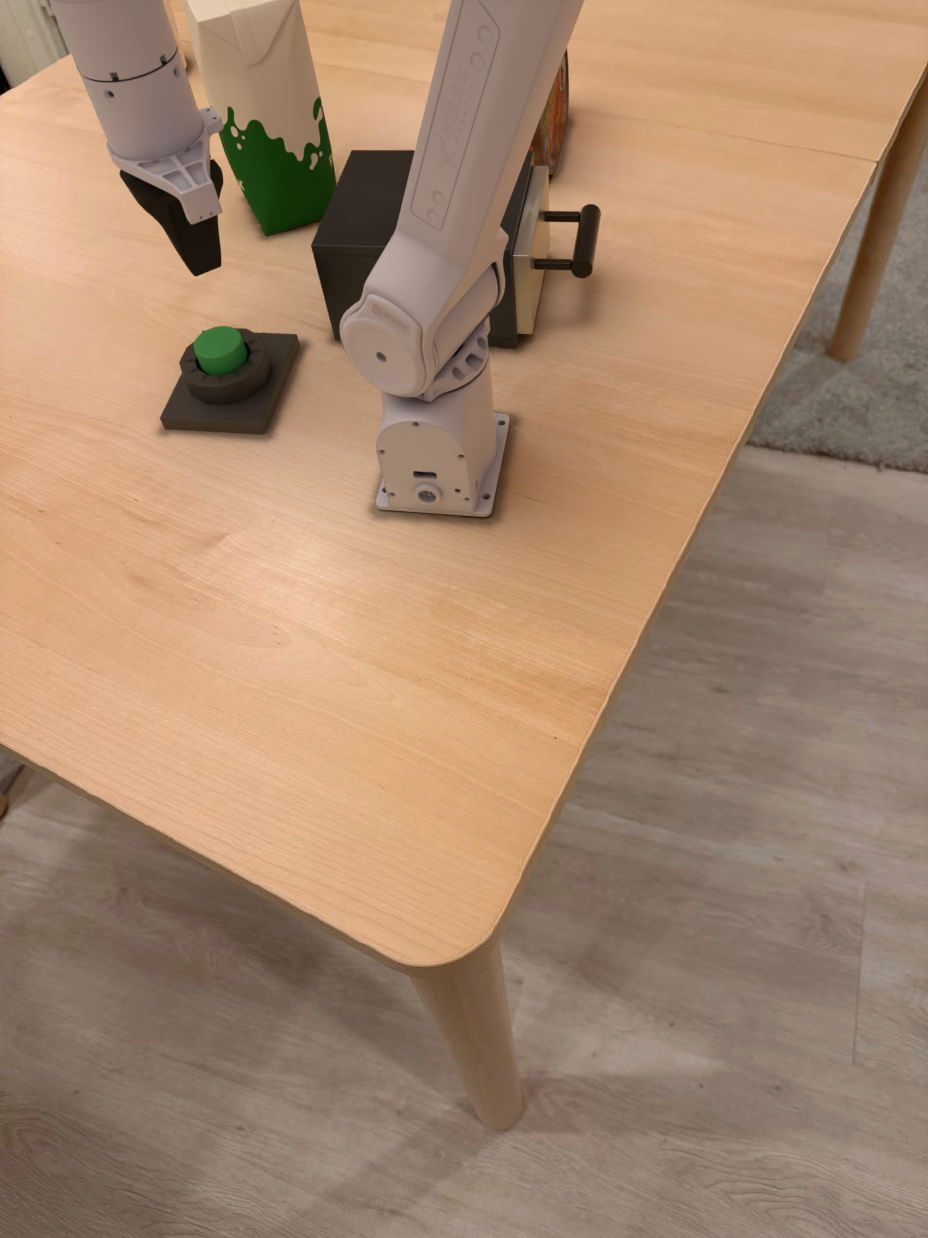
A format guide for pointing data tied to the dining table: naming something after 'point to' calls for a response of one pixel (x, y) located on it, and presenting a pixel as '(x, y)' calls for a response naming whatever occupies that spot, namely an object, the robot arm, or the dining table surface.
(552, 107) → the tin
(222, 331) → the button
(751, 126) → the dining table surface
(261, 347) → the button box
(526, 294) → the drawer
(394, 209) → the cabinet
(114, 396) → the dining table surface
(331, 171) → the milk carton
